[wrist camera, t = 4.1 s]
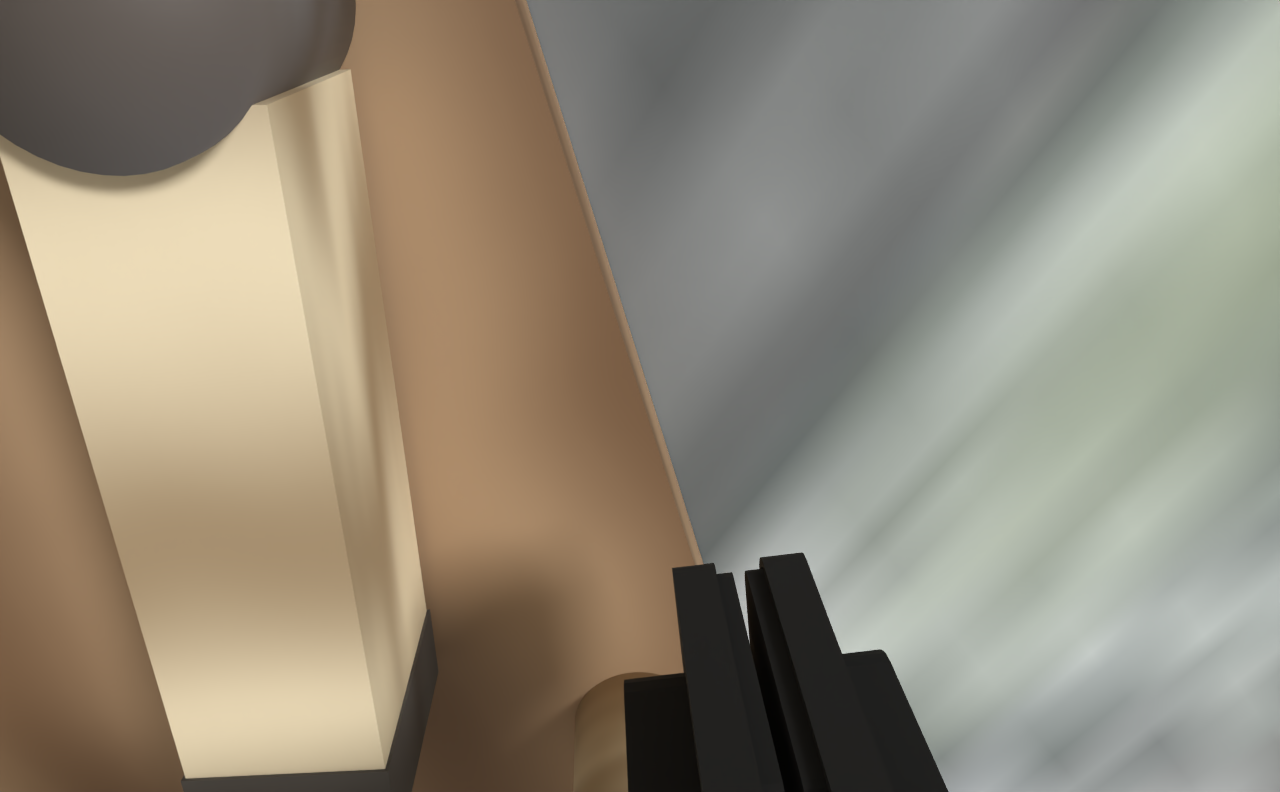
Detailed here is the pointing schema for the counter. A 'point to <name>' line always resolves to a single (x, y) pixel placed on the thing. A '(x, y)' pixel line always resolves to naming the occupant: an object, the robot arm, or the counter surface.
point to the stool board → (433, 446)
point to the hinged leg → (230, 371)
